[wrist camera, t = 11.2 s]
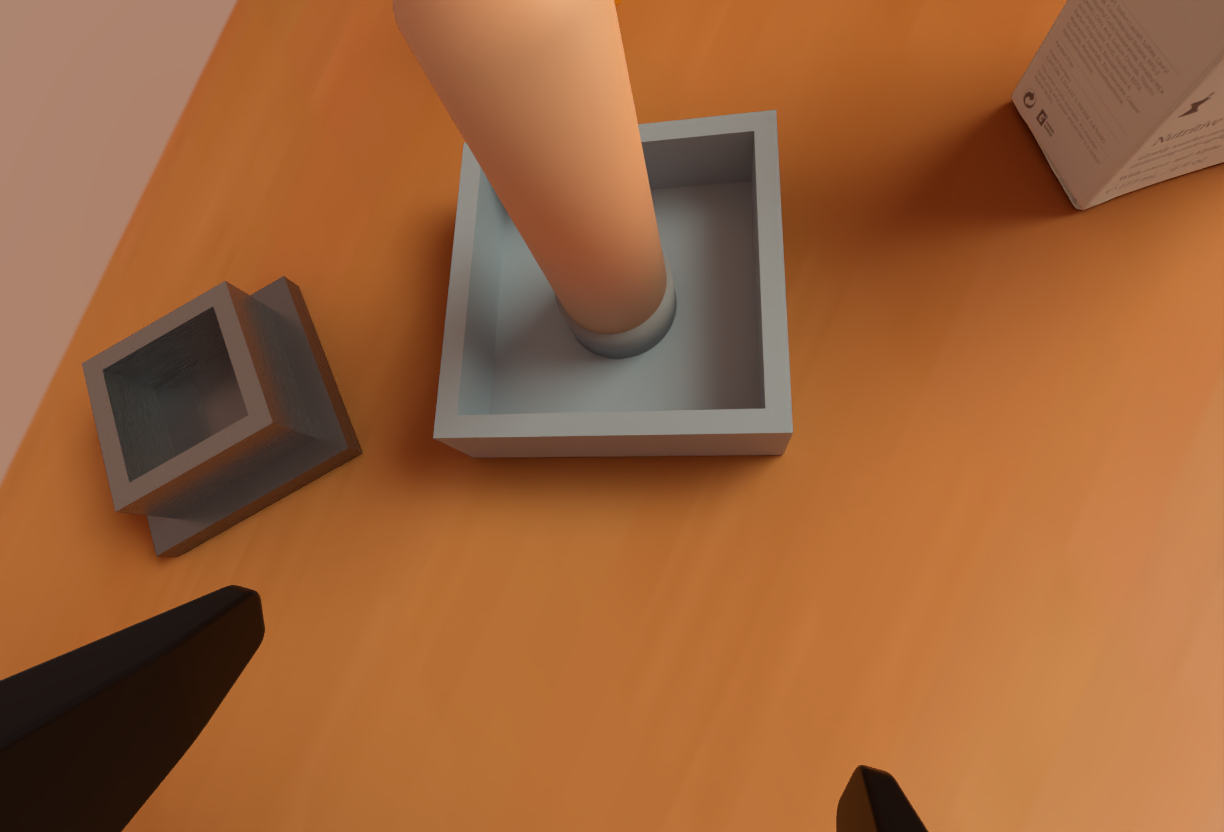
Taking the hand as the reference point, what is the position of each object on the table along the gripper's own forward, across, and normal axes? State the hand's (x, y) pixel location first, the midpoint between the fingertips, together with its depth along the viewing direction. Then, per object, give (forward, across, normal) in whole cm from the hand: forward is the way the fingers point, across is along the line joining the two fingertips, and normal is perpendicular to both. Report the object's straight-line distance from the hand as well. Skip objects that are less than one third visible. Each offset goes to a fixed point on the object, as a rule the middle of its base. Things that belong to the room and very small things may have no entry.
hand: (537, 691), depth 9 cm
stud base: (+14, +18, +7) cm, 24 cm away
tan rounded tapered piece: (+18, +2, -1) cm, 18 cm away
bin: (+18, +2, 0) cm, 18 cm away
